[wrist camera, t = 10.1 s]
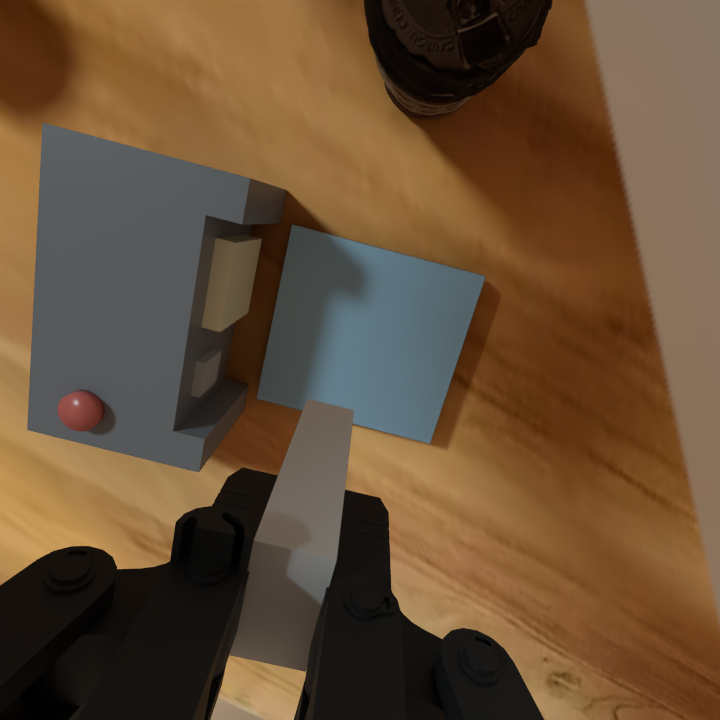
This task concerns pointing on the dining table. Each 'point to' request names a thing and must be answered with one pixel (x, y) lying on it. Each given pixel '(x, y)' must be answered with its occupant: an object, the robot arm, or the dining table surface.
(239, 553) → the robot arm
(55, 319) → the grey notched block
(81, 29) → the dining table surface
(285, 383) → the side door
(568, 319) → the dining table surface
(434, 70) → the coffee cup
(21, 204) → the dining table surface
